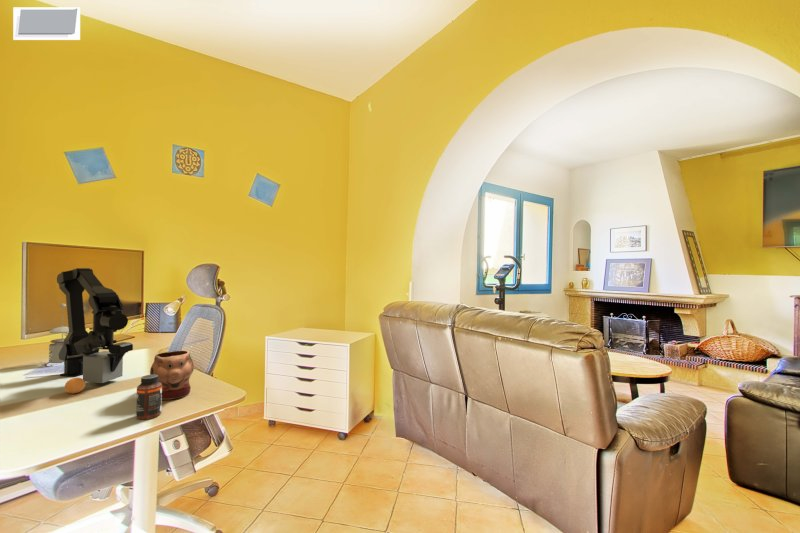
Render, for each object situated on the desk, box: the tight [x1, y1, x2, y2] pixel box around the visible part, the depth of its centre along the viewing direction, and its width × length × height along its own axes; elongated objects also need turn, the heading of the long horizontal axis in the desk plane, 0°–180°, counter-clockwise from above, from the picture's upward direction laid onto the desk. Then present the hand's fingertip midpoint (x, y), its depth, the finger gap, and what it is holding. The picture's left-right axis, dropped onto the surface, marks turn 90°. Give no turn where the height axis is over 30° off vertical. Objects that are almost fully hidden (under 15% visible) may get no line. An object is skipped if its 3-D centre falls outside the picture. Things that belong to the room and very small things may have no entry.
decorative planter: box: [149, 350, 195, 400], centre depth 119 cm, size 20×12×14 cm, turn 44°
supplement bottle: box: [135, 374, 163, 420], centre depth 102 cm, size 6×6×11 cm
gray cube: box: [82, 350, 124, 384], centre depth 127 cm, size 8×8×9 cm
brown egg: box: [64, 377, 86, 394], centre depth 117 cm, size 5×5×5 cm
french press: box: [46, 303, 69, 364], centre depth 150 cm, size 10×12×25 cm
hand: (102, 370), depth 127 cm, fingers closed on gray cube, 8 cm apart
